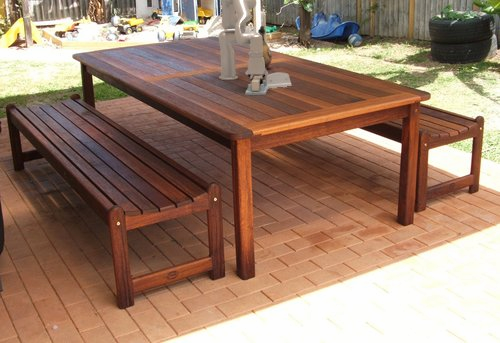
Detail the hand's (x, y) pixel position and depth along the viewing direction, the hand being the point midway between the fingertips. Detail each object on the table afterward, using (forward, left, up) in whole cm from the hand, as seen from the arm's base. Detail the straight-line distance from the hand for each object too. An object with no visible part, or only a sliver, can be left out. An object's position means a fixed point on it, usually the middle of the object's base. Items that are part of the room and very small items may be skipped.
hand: (256, 84), depth 427 cm
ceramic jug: (-73, -6, -4) cm, 73 cm away
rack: (0, 0, -4) cm, 4 cm away
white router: (-15, +12, -5) cm, 19 cm away
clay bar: (0, 0, -2) cm, 2 cm away
